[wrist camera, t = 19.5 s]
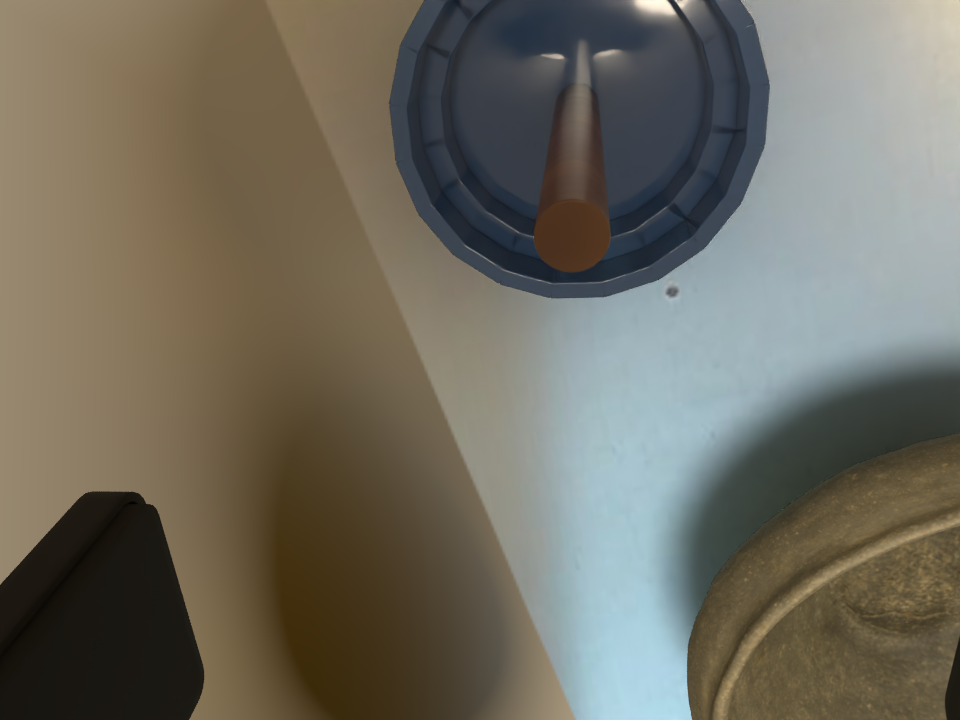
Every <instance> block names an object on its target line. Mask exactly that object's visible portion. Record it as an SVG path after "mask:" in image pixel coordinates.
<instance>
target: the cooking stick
mask: <svg viewBox="0 0 960 720" xmlns="http://www.w3.org/2000/svg"><path fill="white" fill-rule="evenodd" d="M610 238H611V232H610V221H609V210H608V200H607V189H606V178H605V168H604V157H603V147H602V136H601V125H600V115H599V104H598V98H597V96H596V94H595V92H594V91H593V90H592V89H591V88H590V87H588V86H586V85H584V84H572V85H569V86H567V87H566V88H564V89H563V90H562V91H561V93H560V94H559V96H558V98H557V101H556V107H555V113H554V118H553V124H552V130H551V136H550V141H549V147H548V153H547V159H546V164H545V170H544V176H543V182H542V187H541V193H540V199H539V205H538V210H537V216H536V222H535V228H534V244H535V248H536V250H537V252H538V254H539V256H540V257H541V258H542V260H543V261H544V262H545V263H547V264H548V265H549V266H551V267H553V268H554V269H557V270H560V271H563V272H580V271H584V270H587V269H589V268H591V267H592V266H594V265H596V264H597V263H598V262H599V261H600V260H601V259H602V258H603V256H604V255H605V254H606V252H607V250H608V247H609V244H610Z"/></svg>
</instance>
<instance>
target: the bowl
mask: <svg viewBox="0 0 960 720" xmlns="http://www.w3.org/2000/svg"><path fill="white" fill-rule="evenodd" d="M959 636H960V433H959V434H953V435H949V436H944V437H940V438H935V439H931V440H926V441H922V442H918V443H915V444H913V445H910V446H907V447H904V448H902V449H899V450H896V451H893V452H890V453H886V454H883V455H881V456H878V457H875V458H872V459H869V460H866V461H864V462H861V463H859V464H856V465H854V466H851V467H849V468H847V469H845V470H843V471H841V472H840V473H838V474H836V475H834V476H832V477H831V478H829V479H827V480H825V481H824V482H822V483H820V484H819V485H817V486H815V487H814V488H812V489H811V490H809V491H808V492H806V493H805V494H803V495H802V496H800V497H799V498H797V499H796V500H795V501H793V502H792V503H790V504H789V505H788V506H787V507H785V508H784V509H783V510H782V511H780V512H779V513H778V514H776V515H775V516H774V517H772V518H771V519H770V520H768V521H767V522H766V523H765V524H764V525H762V526H761V527H760V528H759V529H758V530H757V531H756V532H755V533H754V534H753V535H752V536H751V537H749V538H748V539H747V540H746V541H745V542H744V543H743V544H742V545H741V546H740V547H739V548H738V549H737V550H736V552H735V553H734V554H733V555H732V556H731V557H730V558H729V559H728V561H727V562H726V563H725V564H724V566H723V567H722V568H721V569H720V571H719V572H718V574H717V575H716V577H715V578H714V580H713V582H712V584H711V586H710V589H709V591H708V593H707V595H706V597H705V600H704V602H703V604H702V606H701V608H700V610H699V613H698V615H697V617H696V619H695V622H694V625H693V629H692V632H691V636H690V639H689V644H688V657H687V686H688V698H689V705H690V710H691V716H692V720H947V718H946V711H945V695H946V690H947V686H948V681H949V677H950V673H951V669H952V665H953V661H954V657H955V653H956V649H957V645H958V641H959Z"/></svg>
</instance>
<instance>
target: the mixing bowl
mask: <svg viewBox="0 0 960 720" xmlns="http://www.w3.org/2000/svg"><path fill="white" fill-rule="evenodd" d="M572 84H584V85H586V86H588V87H590V88H591V89H592V90H593V91H594V92H595V94H596V96H597V98H598V104H599V115H600V125H601V136H602V147H603V157H604V168H605V178H606V189H607V200H608V210H609V221H610V232H611V238H610V244H609V247H608V250H607V252H606V254H605V255H604V256H603V258H602V259H601V260H600V261H599V262H598V263H597V264H596V265H594V266H592V267H591V268H589V269H587V270H584V271H580V272H563V271H560V270H557V269H554V268H553V267H551V266H549V265H548V264H547V263H545V262H544V261H543V260H542V258H541V257H540V256H539V254H538V252H537V250H536V248H535V244H534V228H535V222H536V216H537V210H538V205H539V199H540V193H541V187H542V182H543V176H544V170H545V164H546V159H547V153H548V147H549V141H550V136H551V130H552V124H553V118H554V113H555V107H556V101H557V98H558V96H559V94H560V93H561V91H562V90H563V89H564V88H566V87H567V86H569V85H572ZM769 89H770V85H769V78H768V74H767V70H766V66H765V62H764V58H763V54H762V50H761V46H760V42H759V38H758V34H757V29H756V25H755V23H754V20H753V19H752V17H751V15H750V14H749V12H748V11H747V9H746V8H745V6H744V5H743V3H742V2H741V0H424V2H423V3H422V5H421V7H420V9H419V11H418V13H417V15H416V16H415V18H414V20H413V22H412V24H411V26H410V27H409V29H408V31H407V33H406V35H405V37H404V39H403V40H402V42H401V45H400V49H399V54H398V59H397V64H396V70H395V75H394V80H393V85H392V91H391V96H390V101H389V104H390V106H389V108H390V116H391V125H392V134H393V143H394V152H395V160H396V162H397V163H396V164H397V167H398V169H399V171H400V174H401V176H402V178H403V180H404V183H405V185H406V187H407V190H408V192H409V194H410V196H411V199H412V201H413V203H414V206H415V208H416V210H417V212H418V213H419V216H420V217H421V218H422V219H423V221H424V222H425V223H426V224H427V225H428V226H429V227H430V229H431V230H432V231H433V232H434V233H435V234H436V236H437V237H438V238H439V239H440V240H441V241H442V243H443V244H444V245H445V246H446V247H447V248H448V250H449V251H450V252H451V253H452V254H453V255H455V256H456V257H457V258H459V259H460V260H462V261H464V262H465V263H467V264H468V265H470V266H472V267H473V268H475V269H476V270H478V271H479V272H481V273H483V274H484V275H486V276H487V277H489V278H491V279H492V280H494V281H495V282H497V283H500V284H501V285H504V286H508V287H512V288H515V289H519V290H522V291H526V292H530V293H533V294H537V295H541V296H544V297H548V298H592V297H604V296H605V297H607V296H610V295H613V294H616V293H620V292H623V291H626V290H629V289H632V288H635V287H638V286H641V285H644V284H648V283H651V282H654V281H656V280H659V279H660V278H662V277H663V276H665V275H666V274H668V273H669V272H671V271H672V270H674V269H675V268H677V267H678V266H680V265H681V264H682V263H684V262H685V261H687V260H688V259H690V258H691V257H693V256H694V255H696V254H697V253H699V252H700V251H702V250H703V249H704V247H706V246H707V245H708V243H709V242H710V241H711V240H712V239H713V237H714V236H715V235H716V234H717V232H718V231H719V230H720V229H721V228H722V226H723V225H724V224H725V223H726V221H727V220H728V219H729V218H730V216H731V215H732V214H733V213H734V212H735V210H736V209H737V208H738V207H739V205H740V204H741V202H742V201H743V198H744V196H745V194H746V191H747V189H748V186H749V184H750V181H751V179H752V176H753V174H754V171H755V169H756V167H757V164H758V162H759V159H760V157H761V154H762V152H763V149H764V145H765V139H766V127H767V114H768V102H769Z"/></svg>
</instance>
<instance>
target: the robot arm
mask: <svg viewBox="0 0 960 720" xmlns="http://www.w3.org/2000/svg"><path fill="white" fill-rule="evenodd" d="M203 683H204V669H203V664H202V660H201V657H200V653H199V650H198V647H197V643H196V640H195V636H194V633H193V629H192V626H191V623H190V620H189V616H188V612H187V609H186V606H185V602H184V599H183V595H182V592H181V589H180V585H179V582H178V578H177V575H176V572H175V568H174V565H173V561H172V558H171V554H170V551H169V547H168V544H167V541H166V537H165V534H164V530H163V527H162V524H161V520H160V517H159V514H158V511H157V509H156V508H155V507H154V506H153V505H150V504H146V503H145V500H144V498H143V497H142V496H141V495H140V494H138V493H135V492H88V493H85V494H84V495H83V496H81V497H80V498H79V499H78V500H77V501H76V502H75V503H74V505H73V506H72V507H71V508H70V509H69V510H68V511H67V512H66V513H65V514H64V516H63V517H62V518H61V519H60V520H59V521H58V522H57V523H56V524H55V526H54V527H53V528H52V529H51V530H50V531H49V532H48V533H47V534H46V535H45V536H44V537H43V539H42V540H41V541H40V542H39V543H38V544H37V545H36V546H35V547H34V548H33V550H32V551H31V552H30V553H29V554H28V555H27V556H26V557H25V558H24V559H23V561H22V562H21V563H20V564H19V565H18V566H17V567H16V568H15V569H14V570H13V571H12V573H11V574H10V575H9V576H8V577H7V578H6V579H5V580H4V581H3V582H2V584H1V585H0V720H189V719H190V717H191V715H192V713H193V711H194V709H195V707H196V705H197V703H198V701H199V699H200V696H201V693H202V689H203ZM945 711H946V718H947V720H960V636H959V641H958V645H957V649H956V653H955V657H954V661H953V665H952V669H951V673H950V677H949V681H948V686H947V690H946V695H945Z"/></svg>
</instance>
